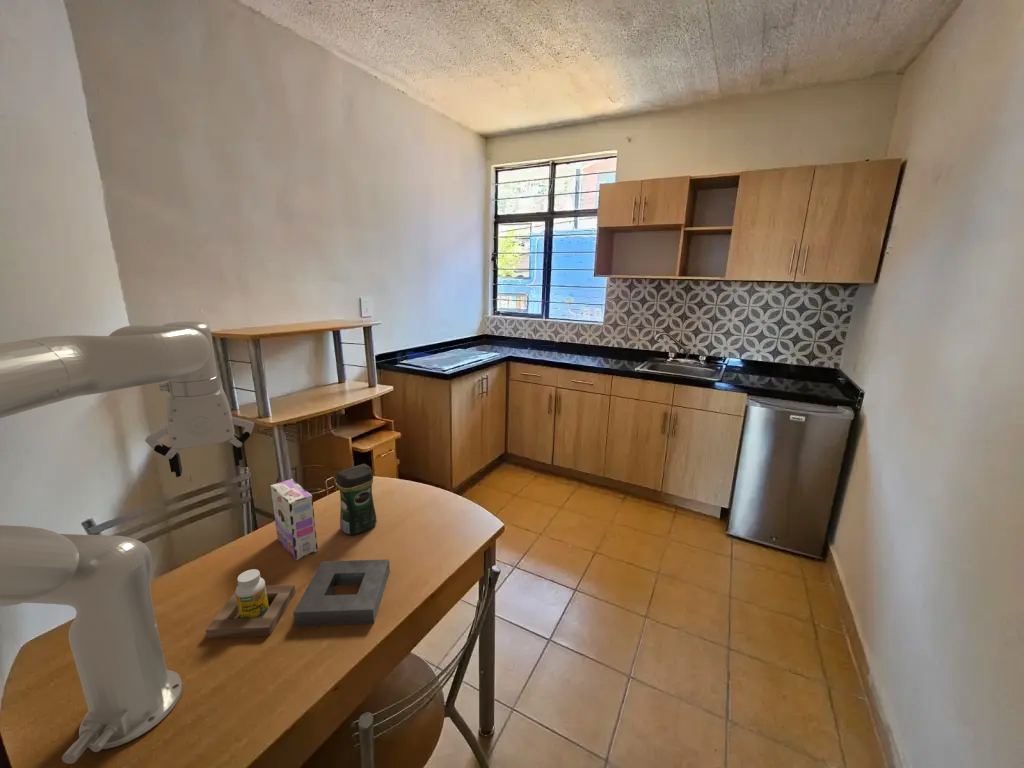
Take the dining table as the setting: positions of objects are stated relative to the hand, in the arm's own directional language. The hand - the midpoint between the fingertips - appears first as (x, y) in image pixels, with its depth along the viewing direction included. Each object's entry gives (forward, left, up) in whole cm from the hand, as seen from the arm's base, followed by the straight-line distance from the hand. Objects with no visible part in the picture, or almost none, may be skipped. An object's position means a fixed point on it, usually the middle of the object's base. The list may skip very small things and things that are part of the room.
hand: (209, 468), depth 84 cm
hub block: (+1, -25, -32) cm, 40 cm away
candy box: (+21, -6, -33) cm, 39 cm away
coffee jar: (+29, -20, -32) cm, 48 cm away
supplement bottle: (-3, -7, -32) cm, 33 cm away
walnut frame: (-3, -7, -32) cm, 33 cm away
